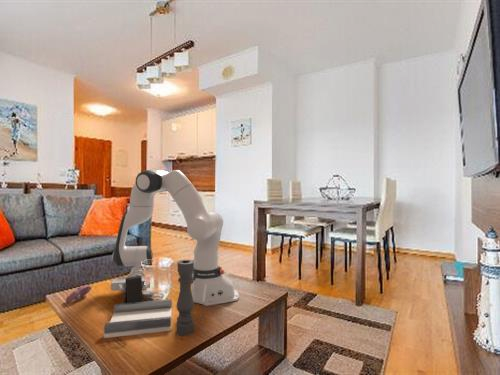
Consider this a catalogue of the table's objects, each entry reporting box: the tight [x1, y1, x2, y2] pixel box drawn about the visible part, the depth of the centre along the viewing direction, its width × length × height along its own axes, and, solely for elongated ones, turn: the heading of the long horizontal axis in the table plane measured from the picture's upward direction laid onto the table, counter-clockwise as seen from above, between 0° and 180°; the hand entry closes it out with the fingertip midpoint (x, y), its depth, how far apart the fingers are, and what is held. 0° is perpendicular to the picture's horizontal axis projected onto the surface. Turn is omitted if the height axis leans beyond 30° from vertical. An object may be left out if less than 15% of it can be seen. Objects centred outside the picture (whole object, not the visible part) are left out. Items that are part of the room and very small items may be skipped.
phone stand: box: [123, 276, 144, 303], centre depth 123 cm, size 9×6×12 cm, turn 34°
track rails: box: [103, 298, 173, 335], centre depth 108 cm, size 22×17×3 cm
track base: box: [103, 308, 173, 339], centre depth 109 cm, size 22×19×1 cm
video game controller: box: [65, 284, 92, 303], centre depth 128 cm, size 10×5×7 cm, turn 169°
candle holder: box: [175, 259, 195, 337], centre depth 102 cm, size 6×6×25 cm
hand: (133, 289), depth 122 cm, fingers open, 8 cm apart
